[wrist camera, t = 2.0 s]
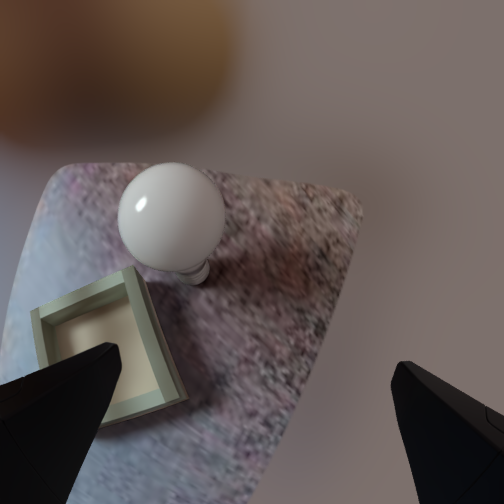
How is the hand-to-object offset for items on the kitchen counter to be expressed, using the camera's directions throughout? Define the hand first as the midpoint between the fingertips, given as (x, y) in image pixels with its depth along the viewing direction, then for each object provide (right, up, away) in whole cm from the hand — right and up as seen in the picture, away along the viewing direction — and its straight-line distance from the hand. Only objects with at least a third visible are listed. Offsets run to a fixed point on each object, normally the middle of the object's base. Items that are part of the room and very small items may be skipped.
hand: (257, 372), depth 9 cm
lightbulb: (-5, +2, +16) cm, 17 cm away
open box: (-11, -5, +12) cm, 17 cm away
